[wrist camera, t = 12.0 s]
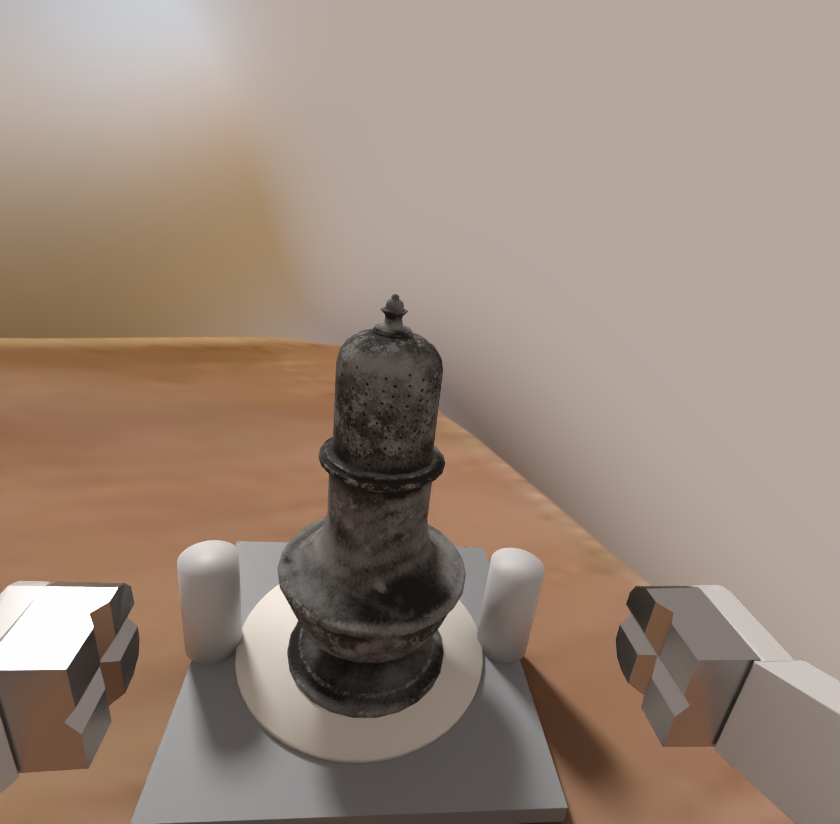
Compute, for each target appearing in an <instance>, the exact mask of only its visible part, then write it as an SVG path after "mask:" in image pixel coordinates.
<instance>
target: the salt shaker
mask: <svg viewBox="0 0 840 824" xmlns="http://www.w3.org/2000/svg"><path fill="white" fill-rule="evenodd" d="M403 307H404V305H403V302H402V301H401V300H399V296H398V295H396V294H394V295H392V298H391V299H389V300H388V301H387V303H386V307H383V308H381V310H382V311H383V312H384V314H385V321H384V323H381V324H377V325H376V326H375V327H374V328H373V329H369V330H364V331H361V332H359V333H357V334H355V335H353V336H352V337H350V338H349V339H347V341H346V342H345V343H344V344H343V345H342V346H341V348H340V350H339V354H338V357H337V361H336V381H335V406H334V431H333V437H332V438H330V439H328V440H327V441H326V442H325V443H324V444H323V445H322V446H321V447H320V452H319V460H320V463H321V466H322V467H323V468H324V469H325V470H326V471H327V472H328V473H329V489H328V511H327V515H326V517H324V518H322V519H320V520H318V521H316V522H314V523H312V524H310V525H308V526H306V527H305V528H304V529H302V530H301V531H300V532H299V533H297V534H296V535H295V536H294V537H292V538H291V540H290V541H289V543H288V544H287V545H286V547H285V548H284V550H283V551H282V553H281V557H280V561H279V564H278V568H277V570H278V578H279V585H280V589H281V591H282V593H283V594H284V596H285V598H286V600H287V601H288V603H289V605H290V606H291V609H292V611H293V613H294V614H295V616H296V618H297V620H298V622H297V624H296V626H295V627H294V629H293V631H292V633H291V635H290V640H289V645H288V650H287V656H288V663H289V671H290V673H291V675H292V677H293V679H294V681H295V683H296V685H297V687H298V688H299V689H300V690H301V691H302V692H303V693H304V694H305V695H306V696H307V697H308V698H309V699H310V700H311V701H312V702H314V703H315V704H317V705H319V706H321V707H322V708H324V709H326V710H328V711H330V712H332V713H336V714H340V715H344V716H348V717H352V718H378V717H382V716H386V715H390V714H394V713H398V712H400V711H402V710H404V709H406V708H408V707H410V706H411V705H413V704H415V703H417V702H418V701H419V700H420V699H421V698H422V697H423V696H424V695H426V694H427V693H428V692H429V691H430V690H431V689H432V687H433V685H434V683H435V682H436V680H437V678H438V676H439V674H440V672H441V667H442V661H443V656H444V650H443V643H442V637H441V635H440V633H439V631H438V629H439V627H440V626H441V624H442V623H443V621H444V619H445V618H446V616H447V615H448V613H449V612H450V611H451V610H453V609H454V607H455V605H456V604H457V602H458V600H459V599H460V597H461V595H462V594H463V589H464V583H465V577H466V572H465V567H464V563H463V559H462V557H461V555H460V554H459V552H458V551H457V549H456V547H455V546H454V544H453V543H452V542H451V541H450V540H449V539H448V538H447V537H445V536H444V535H443V534H442V533H441V532H440V531H439V530H437V529H435V528H434V527H432V526H430V525H428V523H427V516H428V509H429V501H430V493H431V485H432V481H434V480H436V479H437V478H438V477H439V476H440V475H441V474H442V472H443V469H444V466H445V461H444V457H443V454H442V453H441V452H440V451H439V449H438V448H437V447H436V446H434V439H435V431H436V423H437V415H438V407H439V399H440V391H441V382H442V374H443V366H442V359H441V357H440V355H439V353H438V351H437V350H436V348H435V347H434V346H433V345H432V344H431V343H429V342H428V341H427V340H426V339H425V338H423V337H422V336H420V335H417V334H415V333H412V331H411V329H410V328H409V327H407V326H404V325H403V323H402V317H403V315H405V314H406V313H407V312H408V311H407V310H406V309H403Z"/></svg>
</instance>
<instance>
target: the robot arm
mask: <svg viewBox="0 0 840 824" xmlns="http://www.w3.org/2000/svg"><path fill="white" fill-rule="evenodd" d="M133 605H134V600H133V595H132V590H131V586H129V585H127V584H125V583H101V582H66V581H55V582H41V581H18V582H15V583H13V584H11V585H9V586H7V587H6V588H5V589H4V590H3V591H2V593H1V594H0V794H1V793H2V792H3V791H4V790H5V789H6V788H7V787H8V786H9V785H11V784H12V783H13V782H14V781H15V780H16V779H17V778H18V777H19V775H18V773H27V772H42V771H57V770H72V769H87V768H89V767H90V765H91V763H92V760H93V758H94V756H95V754H96V752H97V750H98V748H99V746H100V744H101V742H102V740H103V738H104V736H105V734H106V732H107V730H108V727H109V725H110V723H111V717H110V711H109V705H110V704H112V703H113V702H114V701H116V700H117V699H118V698H119V697H121V696H122V695H123V694H124V693H125V692H126V690H127V688H128V685H129V683H130V681H131V679H132V677H133V674H134V670H135V666H136V662H137V658H138V653H139V633H138V626H137V625H135V624H134V623H133V622H132V621H131V620H130V619H129V618H128V617H127V616H128V614H129V612H130V611H131V609H132V607H133ZM626 605H627V606H628V608H629V610H630V612H631V615H630V616H629V617H628V618H626V619H625V620H624V621H623V622H622V623H621V624H620V626H619V630H618V634H617V637H616V648H617V658H618V661H619V664H620V667H621V670H622V672H623V674H624V676H625V678H626V680H627V682H628V683H629V684H630V685H631V686H633V687H634V688H635V689H637V690H638V691H639V692H640V693H642V694H643V701H642V707H641V708H642V709H643V711H644V713H645V715H646V717H647V719H648V720H649V722H650V724H651V726H652V728H653V729H654V731H655V733H656V735H657V737H658V739H659V740H660V742H661V744H662V746H663V747H715V748H714V750H715V751H716V752H717V753H718V754H719V755H720V756H722V757H723V758H724V759H725V760H726V761H727V762H728V763H729V764H730V765H732V766H733V767H734V768H735V769H736V770H737V771H738V772H739V773H740V774H741V775H743V776H744V777H745V778H746V779H747V780H748V781H749V782H750V783H751V784H752V785H754V786H755V787H756V788H757V789H758V790H759V791H760V792H761V793H762V794H764V795H765V796H766V797H767V798H768V799H769V800H770V801H771V802H772V803H773V804H775V805H776V806H777V807H778V808H779V809H780V810H781V811H782V812H783V813H785V814H786V815H787V816H788V817H789V818H790V819H791V820H792V821H793V822H794V823H796V824H840V681H838V680H836V679H835V678H833V677H831V676H829V675H827V674H826V673H824V672H822V671H821V670H819V669H817V668H815V667H814V666H812V665H810V664H808V663H806V662H805V661H794V660H793V659H792V658H791V657H790V655H789V654H788V653H787V652H786V651H785V650H784V649H783V648H782V647H781V646H780V645H779V644H778V643H777V642H776V640H775V639H774V638H773V637H772V636H771V635H770V634H769V633H768V632H767V631H766V630H765V629H764V627H763V626H762V625H761V624H760V623H759V622H758V621H757V620H756V619H755V618H754V617H753V616H752V615H751V614H750V612H749V611H748V610H747V609H746V608H745V607H744V606H743V605H742V604H741V603H740V602H739V601H738V600H737V598H735V596H734V595H733V594H732V593H731V592H730V591H729V590H728V589H726V588H724V587H722V586H720V585H692V586H636V587H635V588H634V589H633V590H632V591H631V592H630V595H629V598H628V600H627V603H626Z"/></svg>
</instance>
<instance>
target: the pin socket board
mask: <svg viewBox="0 0 840 824" xmlns="http://www.w3.org/2000/svg"><path fill="white" fill-rule="evenodd" d="M287 544H288V543H283V542H244V541H237V543H236V546H234V545H233V544H231V543H228V542H225V541H219V540H211V541H204V542H200V543H197V544H195V545H192V546H190V547H189V548H187V549H186V550H184V551H183V552H182V553H181V554H180V556H179V557H178V560H177V570H178V580H179V590H180V601H181V611H182V621H183V631H184V642H185V651H186V654H187V656H188V657H189V658H190V659H191V660H192V662H191V664H190V667H189V670H188V672H187V675H186V677H185V680H184V683H183V685H182V688H181V691H180V693H179V696H178V699H177V701H176V704H175V706H174V709H173V712H172V714H171V717H170V720H169V722H168V725H167V728H166V730H165V733H164V735H163V738H162V741H161V743H160V746H159V749H158V751H157V754H156V757H155V759H154V762H153V764H152V767H151V770H150V772H149V775H148V778H147V780H146V783H145V786H144V788H143V791H142V793H141V796H140V799H139V801H138V804H137V807H136V809H135V812H134V815H133V817H132V820H131V822H130V824H520V823H544V822H563V821H564V818H565V815H566V812H567V809H568V806H567V803H566V800H565V797H564V794H563V791H562V788H561V785H560V782H559V778H558V775H557V772H556V769H555V766H554V763H553V760H552V757H551V754H550V751H549V748H548V745H547V741H546V738H545V735H544V732H543V729H542V726H541V723H540V720H539V717H538V714H537V711H536V708H535V704H534V701H533V698H532V695H531V692H530V689H529V686H528V683H527V680H526V677H525V674H524V671H523V667H522V664H521V661H520V659H521V658H522V657H523V656H524V655H525V652H526V648H527V644H528V639H529V635H530V631H531V627H532V623H533V618H534V614H535V610H536V606H537V602H538V597H539V593H540V589H541V585H542V581H543V576H544V572H545V569H544V566H543V564H542V562H541V561H540V560H539V559H538V558H537V557H536V556H534V555H533V554H531V553H529V552H527V551H525V550H522V549H517V548H503V549H500V550H498V551H496V552H495V553H494V554H493V555H492V557H491V562H490V566H489V563H488V560H487V557H486V553H485V550H484V548H481V547H456V549H457V551H458V552H459V554H460V555H461V557H462V559H463V563H464V567H465V572H466V577H465V583H464V589H463V594H462V595H461V597H460V599H459V600H458V602H457V604H456V605H455V607H454V609H453V610H451V611H450V612H449V613H448V615H447V616H446V618H445V619H444V621H443V623H442V624H441V626H440V627H439V629H438V631H439V633H440V635H441V637H442V643H443V650H444V656H443V661H442V667H441V672H440V674H439V676H438V678H437V680H436V682H435V683H434V685H433V687H432V689H431V690H430V691H429V692H428V693H427V694H426V695H424V696H423V697H422V698H421V699H420V700H419V701H418V702H417V703H415V704H413V705H411V706H410V707H408V708H406V709H404V710H402V711H400V712H398V713H394V714H390V715H386V716H382V717H378V718H352V717H348V716H344V715H340V714H336V713H332V712H330V711H328V710H326V709H324V708H322V707H321V706H319V705H317V704H315V703H314V702H312V701H311V700H310V699H309V698H308V697H307V696H306V695H305V694H304V693H303V692H302V691H301V690H300V689H299V688H298V687H297V685H296V683H295V681H294V679H293V677H292V675H291V673H290V671H289V663H288V656H287V650H288V645H289V640H290V635H291V633H292V631H293V629H294V627H295V626H296V624H297V622H298V620H297V618H296V616H295V614H294V613H293V611H292V609H291V606H290V605H289V603H288V601H287V600H286V598H285V596H284V594H283V593H282V591H281V589H280V585H279V578H278V570H277V568H278V564H279V561H280V557H281V553H282V551H283V550H284V548H285V547H286V545H287Z"/></svg>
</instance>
